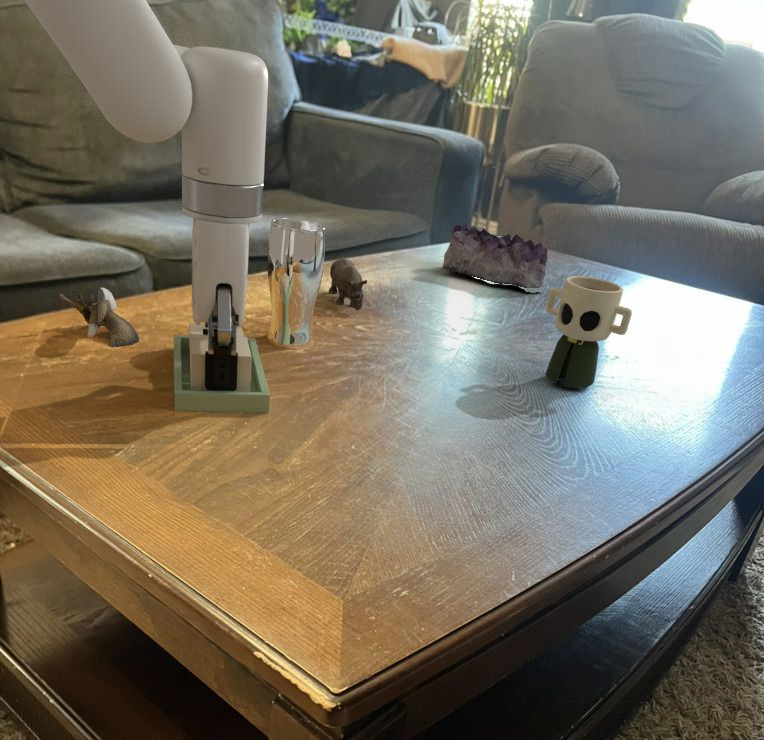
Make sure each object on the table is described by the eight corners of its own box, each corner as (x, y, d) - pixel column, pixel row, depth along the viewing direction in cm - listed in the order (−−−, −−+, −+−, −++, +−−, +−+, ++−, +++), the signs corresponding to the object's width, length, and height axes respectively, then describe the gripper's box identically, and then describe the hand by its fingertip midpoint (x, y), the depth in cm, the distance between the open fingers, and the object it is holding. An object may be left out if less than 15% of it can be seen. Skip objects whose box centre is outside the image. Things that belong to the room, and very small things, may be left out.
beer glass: (294, 330, 106) (302, 215, 98) (328, 347, 102) (338, 228, 94) (253, 338, 101) (257, 218, 94) (286, 355, 97) (293, 232, 90)
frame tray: (269, 416, 82) (270, 395, 81) (174, 414, 79) (174, 392, 78) (254, 356, 96) (255, 338, 95) (173, 354, 93) (173, 334, 92)
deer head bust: (46, 325, 93) (86, 334, 88) (67, 269, 93) (108, 275, 88) (100, 350, 99) (140, 359, 94) (119, 298, 99) (161, 304, 94)
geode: (552, 286, 145) (565, 233, 139) (531, 307, 137) (544, 251, 131) (454, 258, 152) (462, 205, 145) (428, 276, 143) (435, 221, 137)
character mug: (519, 376, 101) (542, 276, 95) (541, 364, 106) (565, 268, 100) (597, 403, 96) (627, 300, 90) (617, 389, 102) (646, 290, 95)
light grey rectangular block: (191, 391, 80) (191, 354, 78) (189, 369, 85) (190, 333, 83) (250, 392, 82) (251, 356, 80) (245, 371, 86) (246, 336, 84)
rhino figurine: (344, 318, 113) (348, 277, 110) (324, 290, 124) (327, 252, 121) (371, 319, 114) (376, 278, 111) (349, 291, 125) (352, 253, 122)
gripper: (180, 179, 80) (181, 347, 89) (183, 215, 66) (184, 410, 75) (254, 186, 82) (247, 349, 91) (272, 222, 68) (262, 411, 77)
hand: (219, 375), depth 83 cm, fingers closed on light grey rectangular block, 5 cm apart
